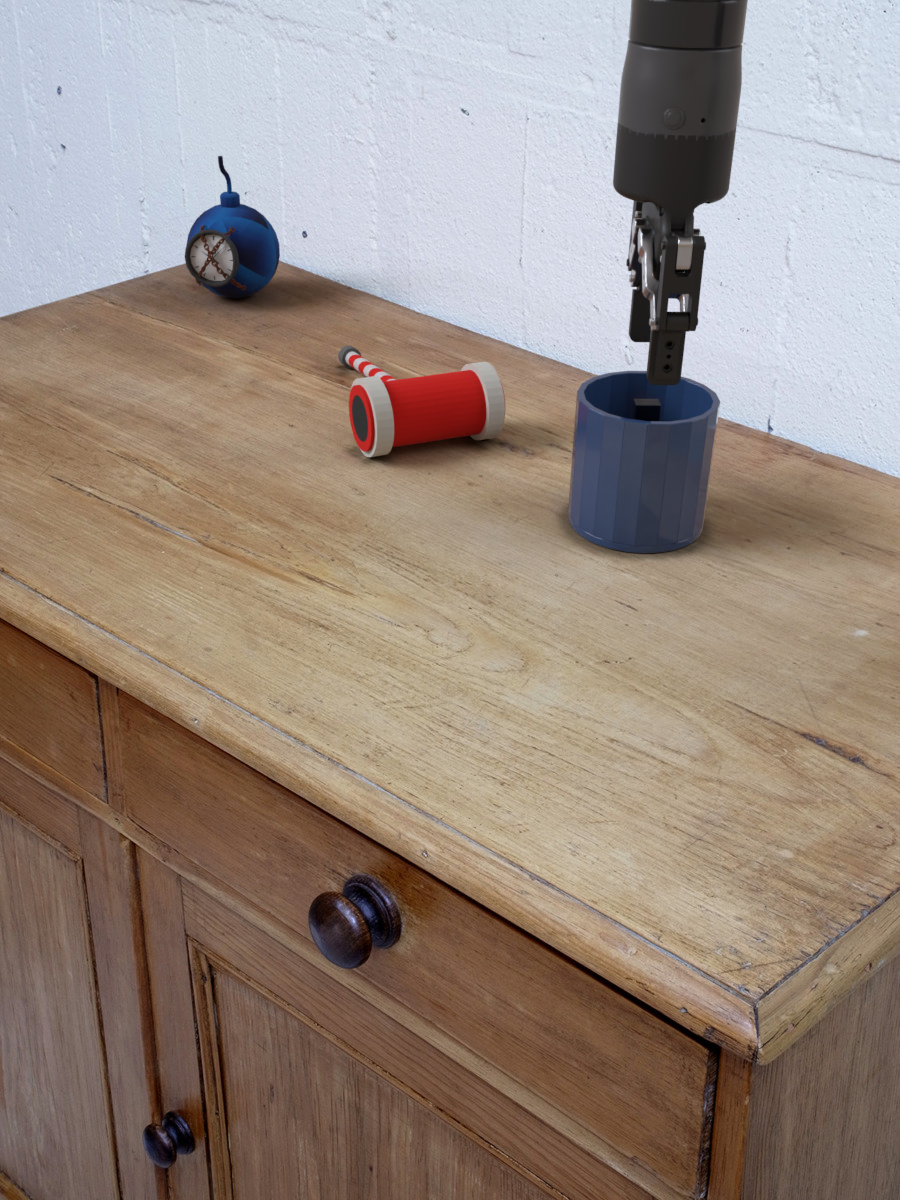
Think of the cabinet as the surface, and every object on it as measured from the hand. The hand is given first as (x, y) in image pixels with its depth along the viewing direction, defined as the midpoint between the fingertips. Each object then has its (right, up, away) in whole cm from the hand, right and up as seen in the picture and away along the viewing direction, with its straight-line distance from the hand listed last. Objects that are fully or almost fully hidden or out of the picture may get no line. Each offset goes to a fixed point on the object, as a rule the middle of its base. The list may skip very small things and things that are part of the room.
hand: (652, 361), depth 92 cm
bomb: (-37, +16, +50) cm, 65 cm away
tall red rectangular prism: (0, -10, +6) cm, 12 cm away
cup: (0, -11, +6) cm, 13 cm away
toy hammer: (-19, -1, +22) cm, 29 cm away
